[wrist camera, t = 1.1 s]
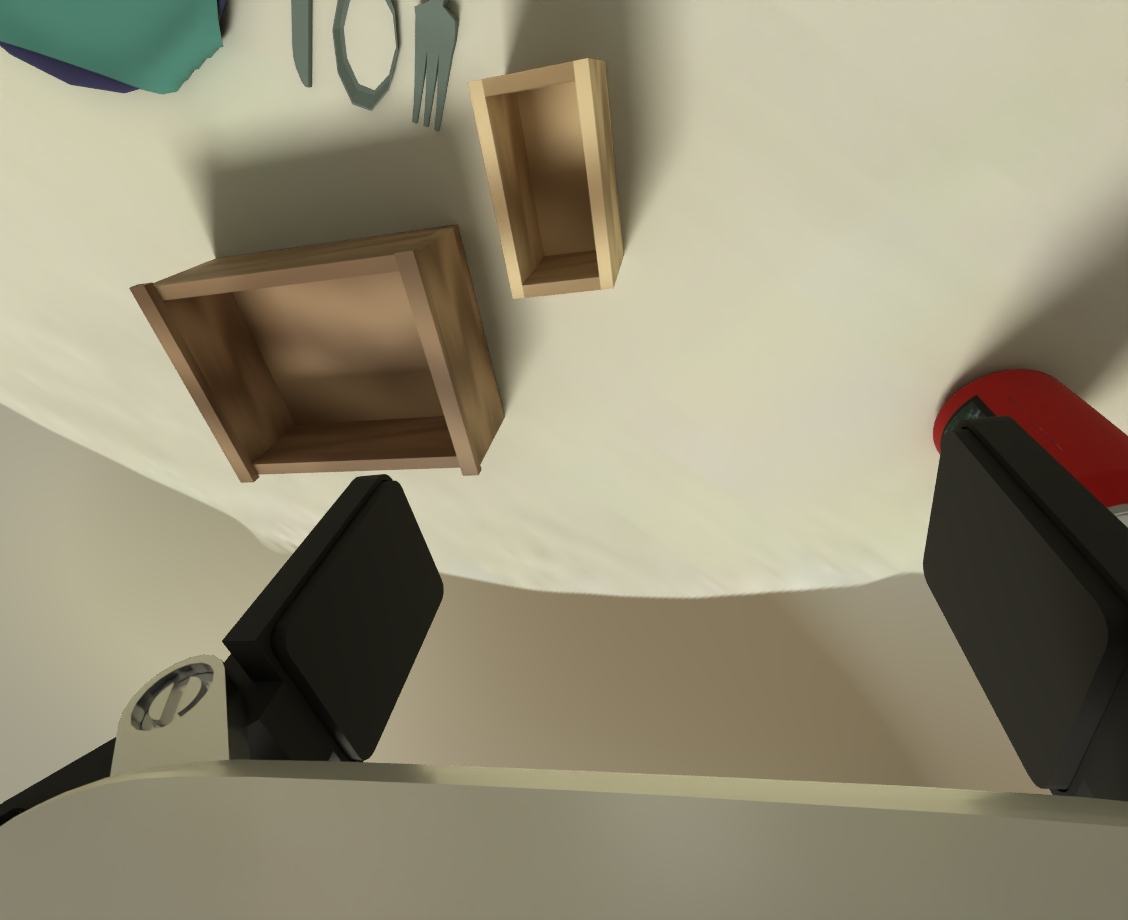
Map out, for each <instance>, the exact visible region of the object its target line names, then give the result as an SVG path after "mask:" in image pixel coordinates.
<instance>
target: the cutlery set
mask: <svg viewBox="0 0 1128 920" xmlns="http://www.w3.org/2000/svg"><path fill="white" fill-rule="evenodd" d="M226 2H227V0H0V46H1V47H2V48H3V49H5V50H6V51H7V52H8V53H9V54H11V55H13V56H15V57H17V58H18V59H20V60H22V61H24V62H26V63H28V64H30V65H32V66H34V67H36V68H38V69H40V70H42V71H44V72H46V73H48V74H50V75H52V76H54V77H56V78H58V79H60V80H62V81H64V82H66V83H68V84H70V85H76V86H82V87H88V88H94V89H101V90H107V91H113V92H119V93H127V92H131V91H134V90H138V89H143V90H146V91H150V92H155V93H159V94H166V93H171V92H177V91H178V89H179V88H180V87H181V85H182V84H183V83H184V81H186V80H188V79H189V77H190V76H191V75H192V73H193V72H194V70H195V69H199V68H200V67H201V65H202V64H203V63H204V61H205V60H206V59H207V58H211V57H212V56H213V54H214V53H215V52H216V51H217V50H218V49H219V48H220V47H223V43H222V38H221V33H220V27H219V20H220V18H221V15H222V12H223V10H224V7H225V4H226ZM349 2H350V0H338V2H337V8H336V13H335V19H334V24H333V39H334V47H335V55H336V63H337V71H338V74H339V76H340V78H341V81H342V83H343V85H344V87H345V89H346V91H347V93H348V96H349V98H350V100H351V102H352V104H353V105H356V106H359V107H362V108H365V109H368V110H371V111H372V110H373V108H374V107H375V106H376V105H377V104H378V102H379V101H380V100H381V99H382V98H383V96H384V95H385V94H386V93H387V92H388V90H389V87H390V83H391V79H392V75H393V71H394V67H395V62H396V58H397V54H398V49H399V48H398V37H397V26H396V15H395V9H394V7H393V4H392V2H391V0H386V2H387V4H388V6H389V8H390V10H391V12H392V14H393V20H394V29H395V39H396V50H395V53H394V57H393V61H392V65H391V69H390V73H389V75H388V76H387V77H386V79H385V80H384V81H383V82H382V83H381V84H380V85H379V86H378V87H377V88H376V90H372V89H370V88H367V87H365V86H362V85H360V84H358V81H357V79H356V77H355V75H354V73H353V71H352V68H351V66H350V64H349V62H348V59H347V54H346V46H345V37H344V24H345V20H346V15H347V11H348V6H349ZM448 3H449V0H429V1H428V2H425V3H423V4H420V5H418V6H415V14H416V20H415V90H414V109H413V122H414V123H418V118H419V112H420V105H421V99H422V93H423V87H424V80H425V74H426V100H425V114H424V126H426V127H429V121H430V115H431V110H432V104H433V98H434V92H435V86H436V80H437V74H438V91H437V108H436V119H435V129H434V130H437V131H439V130H440V125H441V119H442V114H443V108H444V103H445V97H446V92H447V86H448V81H449V75H450V70H451V64H452V59H453V54H454V50H455V46H456V41H457V33H458V26H459V21H458V20H457V19H456V17H455V16H454V15H453V14H452V12H451V11H450V10H449V9H448V7H447V6H448ZM291 4H292V47H293V57H294V61H295V65H296V69H297V71H298V73H299V76H300V78H301V81H302V83H303V84H304V85H305V86H306V87H312V0H291ZM426 68H427V72H426Z"/></svg>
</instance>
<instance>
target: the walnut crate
mask: <svg viewBox="0 0 1128 920" xmlns="http://www.w3.org/2000/svg"><path fill="white" fill-rule="evenodd" d="M129 289H130V290H131V292H132V294H133V295H134V297H135V299H136V301H137V302H138V304H139V306H140V308H141V309H142V311H143V313H144V315H145V316H146V318H147V320H148V322H149V323H150V325H151V327H152V329H153V330H154V332H155V334H156V335H157V337H158V339H159V341H160V342H161V344H162V346H163V348H164V349H165V351H166V353H167V355H168V356H169V358H170V360H171V362H172V363H173V365H174V367H175V369H176V370H177V372H178V374H179V376H180V377H181V379H182V381H183V382H184V384H185V386H186V388H187V389H188V391H189V393H190V395H191V396H192V398H193V400H194V402H195V403H196V405H197V407H198V409H199V410H200V412H201V414H202V416H203V417H204V419H205V421H206V422H207V424H208V426H209V428H210V429H211V431H212V433H213V435H214V436H215V438H216V440H217V442H218V443H219V445H220V447H221V449H222V450H223V452H224V454H225V456H226V457H227V459H228V461H229V462H230V464H231V466H232V468H233V469H234V471H235V473H236V475H237V476H238V478H239V480H240V482H241V483H243V482H254V481H256V480H257V479H258V478H259V475H258V474H285V473H314V472H343V471H371V470H400V469H429V468H458V467H460V468H461V471H462V475H463V476H469V475H479V473H480V471H481V466H480V464H481V462H482V460H483V458H484V456H485V454H486V452H487V451H488V449H489V447H490V445H491V443H492V441H493V439H494V437H495V435H496V433H497V431H498V429H499V427H500V425H501V423H502V422H503V420H504V418H505V417H504V413H503V409H502V404H501V400H500V396H499V392H498V388H497V384H496V380H495V376H494V372H493V368H492V364H491V360H490V355H489V351H488V347H487V343H486V339H485V335H484V331H483V327H482V323H481V319H480V315H479V310H478V306H477V302H476V298H475V294H474V290H473V286H472V282H471V278H470V274H469V270H468V266H467V261H466V257H465V253H464V249H463V245H462V241H461V237H460V233H459V229H458V225H452V226H444V227H437V228H430V229H423V230H416V231H409V232H402V233H395V234H388V235H381V236H374V237H366V238H359V239H352V240H345V241H338V242H331V243H324V244H317V245H310V246H303V247H296V248H288V249H281V250H274V251H267V252H260V253H253V254H246V255H239V256H232V257H225V258H218V259H213V260H211V261H208V262H206V263H203V264H201V265H198V266H196V267H193V268H191V269H188V270H186V271H183V272H181V273H178V274H176V275H173V276H170V277H168V278H165V279H163V280H160V281H158V282H155V283H146V284H138V285H135V286H133V287H130V288H129Z"/></svg>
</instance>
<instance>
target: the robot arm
mask: <svg viewBox="0 0 1128 920" xmlns="http://www.w3.org/2000/svg"><path fill="white" fill-rule="evenodd" d="M923 570H924V575H925V579H926V581H927V584H928V586H929V588H930V590H931V591H932V593H933V595H934V597H935V599H936V601H937V603H938V605H939V607H940V609H941V611H942V612H943V614H944V616H945V618H946V620H947V622H948V624H949V626H950V628H951V629H952V631H953V633H954V635H955V637H956V639H957V641H958V643H959V645H960V646H961V648H962V650H963V652H964V654H965V656H966V658H967V660H968V662H969V664H970V665H971V667H972V669H973V671H974V673H975V675H976V677H977V679H978V680H979V682H980V684H981V686H982V688H983V690H984V692H985V694H986V696H987V698H988V700H989V701H990V703H991V705H992V707H993V709H994V711H995V713H996V715H997V717H998V718H999V720H1000V722H1001V724H1002V726H1003V728H1004V730H1005V732H1006V734H1007V735H1008V737H1009V739H1010V741H1011V743H1012V745H1013V747H1014V749H1015V751H1016V752H1017V754H1018V756H1019V758H1020V760H1021V762H1022V764H1023V766H1024V768H1025V769H1026V772H1027V773H1028V775H1029V776H1030V778H1031V780H1032V781H1033V782H1034V784H1036V786H1038V787H1040V788H1042V789H1050V791H1051V793H1052V794H1053V795H1042V794H1027V793H1011V792H995V791H979V790H964V789H948V788H932V787H915V786H894V785H893V786H892V785H874V784H853V783H832V782H811V781H810V782H809V781H790V780H770V779H769V780H768V779H749V778H727V777H707V776H685V775H661V774H639V773H616V772H592V771H569V770H568V771H567V770H546V769H522V768H521V769H520V768H497V767H471V766H446V765H417V764H390V763H365V762H363V761H364V760H366V759H368V758H370V756H371V755H372V754H373V752H374V750H375V749H376V746H377V744H378V742H379V740H380V737H381V735H382V733H383V731H384V729H385V726H386V724H387V722H388V719H389V717H390V715H391V713H392V710H393V708H394V706H395V704H396V701H397V699H398V697H399V695H400V693H401V690H402V688H403V686H404V684H405V682H406V679H407V677H408V675H409V673H410V670H411V668H412V666H413V664H414V661H415V659H416V657H417V655H418V652H419V650H420V648H421V646H422V643H423V641H424V639H425V637H426V635H427V632H428V630H429V628H430V625H431V623H432V621H433V619H434V617H435V614H436V612H437V610H438V607H439V605H440V603H441V601H442V598H443V582H442V579H441V577H440V575H439V572H438V570H437V568H436V565H435V563H434V561H433V558H432V556H431V554H430V551H429V549H428V547H427V544H426V542H425V540H424V537H423V535H422V533H421V531H420V528H419V526H418V524H417V521H416V519H415V517H414V514H413V512H412V510H411V507H410V505H409V503H408V500H407V498H406V496H405V493H404V491H403V489H402V487H401V485H400V484H399V483H398V482H397V481H393V480H392V478H391V477H389V476H388V475H386V474H381V475H370V476H360V477H356V478H355V479H354V480H353V481H352V482H351V483H350V485H349V486H348V487H347V488H346V489H345V491H344V492H343V493H342V494H341V496H340V497H339V498H338V499H337V500H336V502H335V503H334V504H333V505H332V507H331V508H330V509H329V510H328V512H327V513H326V514H325V515H324V516H323V518H322V519H321V520H320V521H319V523H318V524H317V525H316V526H315V527H314V529H313V530H312V531H311V532H310V534H309V535H308V536H307V537H306V539H305V540H304V541H303V542H302V543H301V545H300V546H299V547H298V548H297V550H296V551H295V552H294V553H293V554H292V556H291V557H290V558H289V560H288V561H287V562H286V563H285V564H284V566H283V567H282V568H281V569H280V570H279V572H278V573H277V574H276V575H275V577H274V578H273V579H272V580H271V581H270V583H269V584H268V585H267V586H266V588H265V589H264V590H263V591H262V593H261V594H260V595H259V596H258V597H257V599H256V600H255V601H254V602H253V604H252V605H251V606H250V607H249V608H248V610H247V611H246V612H245V613H244V615H243V616H242V617H241V618H240V620H239V621H238V622H237V624H235V626H234V627H233V628H232V629H231V631H230V632H229V633H228V634H227V636H226V637H225V638H224V639H223V640H222V642H223V643H224V645H225V646H226V647H227V649H228V650H229V651H230V653H231V655H230V656H229V657H228V658H227V660H226V661H225V662H223V661H222V660H221V659H219V658H218V657H216V656H214V655H199V656H195V657H190V658H187V659H185V660H183V661H180V662H178V663H175V664H174V665H172V666H170V667H169V668H167V669H165V670H163V671H162V672H160V673H159V674H157V675H156V676H155V677H154V678H152V679H151V680H150V681H149V682H147V683H146V684H145V685H144V686H143V687H142V688H141V689H140V690H139V691H138V692H137V693H136V694H135V695H134V696H133V697H132V699H131V700H130V701H129V703H128V704H127V706H126V707H125V709H124V711H123V713H122V715H121V718H120V721H119V725H118V730H117V737H115V738H114V739H112V740H110V741H108V742H107V743H105V744H103V745H101V746H100V747H98V748H96V749H95V750H93V751H91V752H90V753H88V754H86V755H84V756H82V757H81V758H79V759H77V760H76V761H74V762H72V763H70V764H69V765H67V766H65V767H64V768H62V769H60V770H58V771H57V772H55V773H53V774H51V775H50V776H48V777H46V778H45V779H43V780H41V781H39V782H38V783H36V784H34V785H33V786H31V787H29V788H27V789H25V790H24V791H22V792H20V793H19V794H17V795H15V796H14V797H12V798H10V799H8V800H6V801H5V802H3V803H2V804H0V920H1128V527H1127V526H1126V525H1124V524H1123V523H1122V522H1121V521H1120V520H1119V519H1118V518H1117V517H1116V516H1115V515H1114V514H1113V513H1112V512H1111V511H1110V510H1109V509H1108V508H1106V507H1105V506H1104V505H1103V504H1102V503H1101V502H1100V501H1099V500H1098V499H1097V498H1096V497H1095V496H1094V495H1093V494H1092V493H1091V492H1090V491H1089V490H1087V489H1086V488H1085V487H1084V486H1083V485H1082V484H1081V483H1080V482H1079V481H1078V480H1077V479H1076V478H1075V477H1074V476H1073V475H1072V474H1071V473H1069V472H1068V471H1067V470H1066V469H1065V468H1064V467H1063V466H1062V465H1061V464H1060V463H1059V462H1058V461H1057V460H1056V459H1055V458H1054V457H1053V456H1052V455H1050V454H1049V453H1048V452H1047V451H1046V450H1045V449H1044V448H1043V447H1042V446H1041V445H1040V444H1039V443H1038V442H1037V441H1036V440H1035V439H1034V438H1032V437H1031V436H1030V435H1029V434H1028V433H1027V432H1026V431H1025V430H1024V429H1023V428H1022V427H1021V426H1020V425H1019V424H1018V423H1017V422H1016V421H1015V420H1013V419H1012V418H1011V417H1009V416H995V417H984V418H973V419H963V420H961V421H960V422H959V423H958V425H957V427H956V430H948V431H947V432H946V433H945V435H944V437H943V442H942V448H941V454H940V460H939V466H938V473H937V479H936V485H935V491H934V497H933V503H932V509H931V516H930V522H929V528H928V534H927V540H926V546H925V552H924V559H923Z"/></svg>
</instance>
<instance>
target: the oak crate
mask: <svg viewBox="0 0 1128 920" xmlns="http://www.w3.org/2000/svg"><path fill="white" fill-rule="evenodd" d="M468 86H469V91H470V96H471V101H472V105H473V110H474V115H475V120H476V125H477V129H478V134H479V139H480V144H481V149H482V153H483V158H484V163H485V168H486V172H487V177H488V182H489V187H490V192H491V196H492V201H493V206H494V211H495V216H496V220H497V225H498V230H499V235H500V240H501V244H502V249H503V254H504V259H505V263H506V268H507V273H508V278H509V283H510V287H511V292H512V297H513V299H518V298H527V297H536V296H546V295H555V294H565V293H574V292H583V291H593V290H602V289H612V288H614V285H615V282H616V279H617V275H618V272H619V269H620V266H621V263H622V260H623V256H624V253H623V243H622V233H621V222H620V212H619V202H618V192H617V181H616V171H615V161H614V150H613V140H612V130H611V119H610V109H609V99H608V88H607V78H606V68H605V61H603V60H597V59H591V58H585V59H580V60H576V61H571V62H566V63H561V64H556V65H551V66H546V67H541V68H536V69H531V70H526V71H521V72H516V73H511V74H506V75H501V76H496V77H492V78H487V79H482V80H477V81H472V82H468Z"/></svg>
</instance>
